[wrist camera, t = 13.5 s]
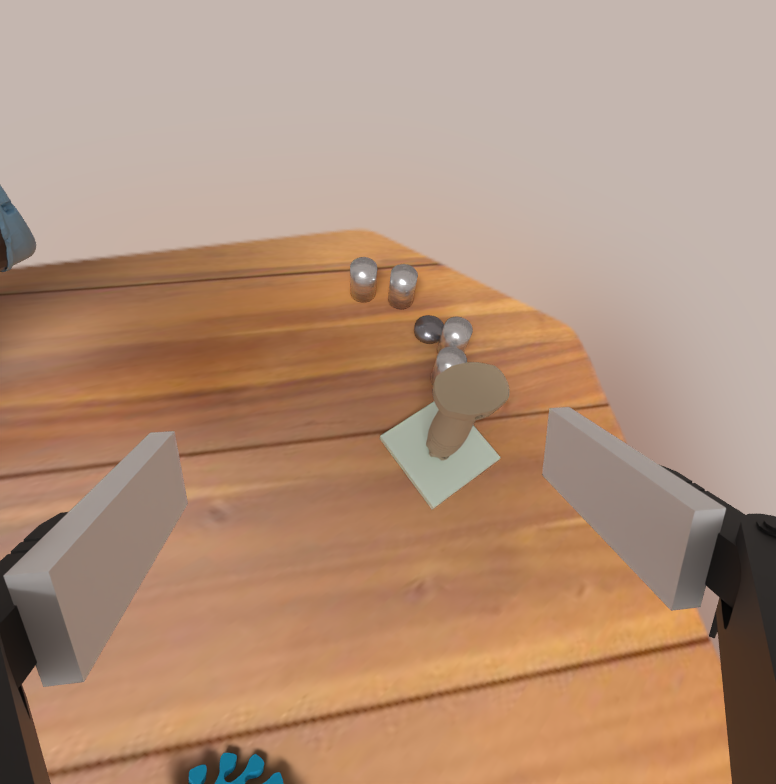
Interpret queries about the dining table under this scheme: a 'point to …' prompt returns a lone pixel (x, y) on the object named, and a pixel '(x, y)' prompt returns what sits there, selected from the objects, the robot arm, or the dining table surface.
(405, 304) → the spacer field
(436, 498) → the pad
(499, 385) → the handle
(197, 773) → the gear
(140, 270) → the dining table surface
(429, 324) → the disc
